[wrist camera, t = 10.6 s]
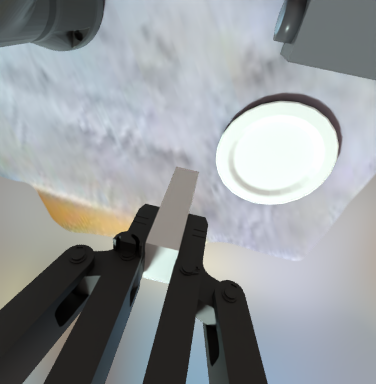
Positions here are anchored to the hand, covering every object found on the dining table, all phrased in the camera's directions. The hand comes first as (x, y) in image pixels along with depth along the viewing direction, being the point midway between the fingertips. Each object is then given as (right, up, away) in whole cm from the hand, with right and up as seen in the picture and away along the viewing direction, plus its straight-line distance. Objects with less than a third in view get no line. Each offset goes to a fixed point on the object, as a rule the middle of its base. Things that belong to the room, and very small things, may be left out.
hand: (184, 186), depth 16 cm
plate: (+16, +6, +28) cm, 33 cm away
